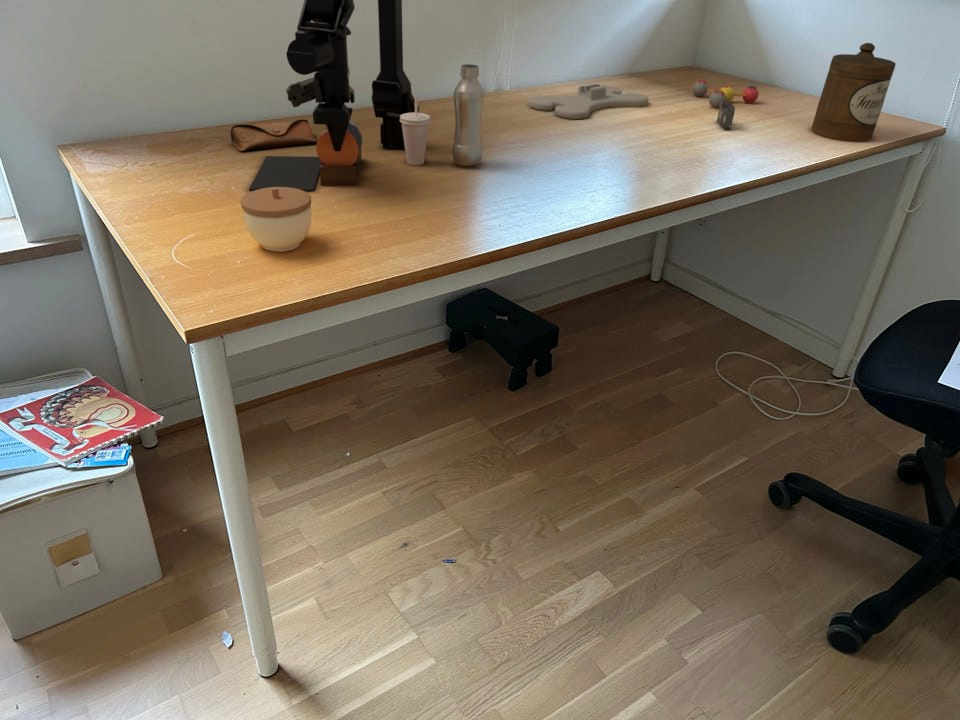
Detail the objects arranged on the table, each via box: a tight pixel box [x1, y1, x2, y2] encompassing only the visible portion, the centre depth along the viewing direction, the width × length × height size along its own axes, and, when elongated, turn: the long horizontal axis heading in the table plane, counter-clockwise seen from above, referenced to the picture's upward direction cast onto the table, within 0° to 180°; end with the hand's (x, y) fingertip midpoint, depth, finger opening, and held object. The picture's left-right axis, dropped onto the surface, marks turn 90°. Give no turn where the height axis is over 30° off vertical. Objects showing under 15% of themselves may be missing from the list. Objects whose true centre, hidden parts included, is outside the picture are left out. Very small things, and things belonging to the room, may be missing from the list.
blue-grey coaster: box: [324, 121, 363, 150], centre depth 152 cm, size 1×8×8 cm, turn 95°
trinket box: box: [240, 187, 312, 253], centre depth 117 cm, size 11×11×9 cm
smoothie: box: [400, 94, 431, 166], centre depth 153 cm, size 6×6×14 cm
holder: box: [528, 83, 649, 120], centre depth 204 cm, size 19×34×5 cm, turn 130°
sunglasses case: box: [230, 118, 318, 152], centre depth 164 cm, size 18×7×7 cm
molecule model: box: [692, 79, 760, 109], centre depth 214 cm, size 18×17×5 cm
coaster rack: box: [319, 148, 363, 187], centre depth 149 cm, size 16×7×4 cm, turn 5°
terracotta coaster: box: [315, 129, 359, 166], centre depth 142 cm, size 1×8×8 cm, turn 94°
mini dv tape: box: [716, 99, 736, 131], centre depth 191 cm, size 8×2×6 cm, turn 179°
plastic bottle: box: [451, 63, 485, 167], centre depth 152 cm, size 6×7×20 cm
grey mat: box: [248, 155, 321, 192], centre depth 147 cm, size 12×20×1 cm, turn 5°
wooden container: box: [811, 42, 897, 142], centre depth 185 cm, size 15×15×22 cm
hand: (337, 149), depth 142 cm, fingers closed on terracotta coaster, 1 cm apart
